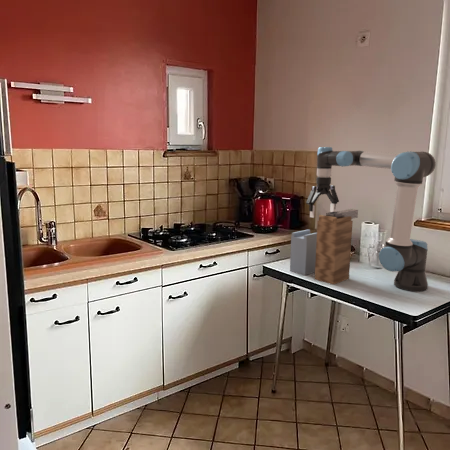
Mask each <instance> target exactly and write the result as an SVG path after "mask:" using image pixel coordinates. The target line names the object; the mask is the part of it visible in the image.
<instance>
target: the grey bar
mask: <svg viewBox="0 0 450 450" xmlns="http://www.w3.org/2000/svg"><path fill="white" fill-rule="evenodd" d="M358 215H359V209H354V208H350V209H349V208H348V209H344V210H337V211H334V212H330V211H329V212H326V214H325V216H331V217H337V218H342V217H347V216H351V217H352V219H351V220H353V219H357V218H358V217H359V216H358Z"/></svg>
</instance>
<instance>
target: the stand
mask: <svg viewBox="0 0 450 450" xmlns="http://www.w3.org/2000/svg"><path fill="white" fill-rule="evenodd" d="M353 221H354V220H353V219H352V217H351V216H347V217H342V218H337V217H331V216H326V215H323V214H319V215H318V220H317V227H316V233H317V242H316V262H315V272H314V280H315V281H320V282H322V283H327V284H329V283H330V285H336V284H339V283H342V282H344V281H346V280H349V279H350V269H351V268H350V267H351V252H352V251H351V250H352V238H353V237H352V234H353V223H354V222H353Z"/></svg>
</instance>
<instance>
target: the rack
mask: <svg viewBox="0 0 450 450" xmlns="http://www.w3.org/2000/svg"><path fill="white" fill-rule="evenodd" d="M316 242H317V232H313V233H311V229H305V230H299V231H295V232H291V236H290V256H289V257H290V259H289V260H290V261H289V272H292V273H297V274H299V275H302V276H303V275H304V276H307V275H311V274H313V273H314V274H315V262H316Z"/></svg>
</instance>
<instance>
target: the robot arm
mask: <svg viewBox="0 0 450 450" xmlns="http://www.w3.org/2000/svg"><path fill="white" fill-rule="evenodd" d="M316 155H317V156H316V159H317V162H316V163H317V164H316V182H315V184H316V185H315V186H313V185H312V186H311V190H310V192H309V195H308V197H307V199H306V201H305V204H306V205H308V206H309V207H308V211H309V218H313V219H314V218H315V208H316V206H315V205H314V204H315V203H316V201H318V199H319V197H320V196H322V195H325V196H327V198H328V199H329V201H330V202H331V203H330V205H329V212H336V211H335V210H336V207H337V206H336V205H337V204H338V203H339V202H340V199H339V197H338V194H337V192H336V185H331V184H332V178H331V176H332V169H333V168H332V167H333V166H334V167H351V166H354V167H356V166H357V167H365V168H367V167H368V168H377V169H387V170H391V173H392V175H393V177H394V183H395V184H396V192H395V198H394V199H395V200H394V205H393V213H392V218H391V219H392V221H391V227H390V234H389V237H388V238H386V239H385V244H384V247H383V248H382V249H380V251H379V252H378V261H379V263H380V265H382V267H383V268H384V269H385V270H386V271H389V272H397V273H396V275H395V278H394V281H393V285H394V287H396V288H398V289H401V290H404V291H408V292H410V291H411V292H424V291H426V290H428V286H429V283H428V280H427V276H426V275H427V274H426V266H427V257H428V243H427V242H426V241H424V240H421V239H420V240H419V239H413V238H411V234H412V230H413V229H412V227H413V221H414V215H415V209H416V201H417V197H418V188H419V187H420V186H422V185H423V181H424V178H426V177H428V176H430V175H432V173H434V171H435V169H436V164H437V163H436V162H437V161H436V160H435V156H433V154H432V153H429V152H427V151H412V150H411V151H405V152H400V153H393V152H392V153H389V152H376V151H363V150H333V147H332V146H319V147H318V148H317V154H316Z"/></svg>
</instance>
